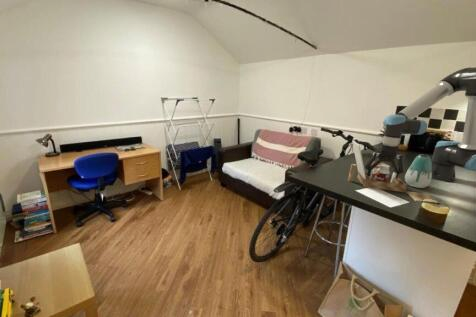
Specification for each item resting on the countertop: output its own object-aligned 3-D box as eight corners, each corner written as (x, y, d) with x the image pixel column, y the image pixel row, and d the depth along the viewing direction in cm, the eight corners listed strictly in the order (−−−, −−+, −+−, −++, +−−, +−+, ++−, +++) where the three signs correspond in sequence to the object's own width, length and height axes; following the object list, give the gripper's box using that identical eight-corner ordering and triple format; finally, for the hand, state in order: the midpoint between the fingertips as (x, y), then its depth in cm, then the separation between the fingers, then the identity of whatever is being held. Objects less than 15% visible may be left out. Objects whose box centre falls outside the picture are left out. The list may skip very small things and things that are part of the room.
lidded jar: (390, 180, 134) (394, 165, 131) (370, 178, 136) (373, 163, 133) (382, 174, 144) (386, 160, 141) (364, 172, 146) (367, 158, 143)
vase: (430, 192, 120) (440, 160, 115) (403, 186, 126) (412, 155, 121) (426, 185, 130) (436, 155, 124) (402, 180, 136) (410, 151, 130)
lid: (353, 140, 130) (352, 140, 130) (359, 145, 117) (358, 145, 118) (359, 170, 134) (357, 171, 134) (365, 178, 122) (364, 179, 122)
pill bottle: (371, 183, 128) (375, 164, 125) (377, 181, 131) (382, 163, 128) (382, 187, 123) (387, 168, 120) (388, 185, 126) (393, 167, 123)
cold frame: (394, 182, 132) (398, 165, 129) (405, 192, 119) (410, 174, 116) (345, 176, 137) (348, 160, 134) (351, 185, 124) (355, 168, 121)
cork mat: (427, 194, 117) (427, 193, 117) (439, 204, 107) (439, 202, 107) (405, 192, 119) (406, 191, 118) (415, 201, 109) (415, 199, 109)
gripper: (411, 145, 121) (400, 182, 128) (363, 140, 126) (355, 177, 133) (418, 148, 114) (407, 188, 121) (368, 143, 119) (359, 182, 126)
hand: (380, 182), depth 127 cm, fingers open, 11 cm apart
